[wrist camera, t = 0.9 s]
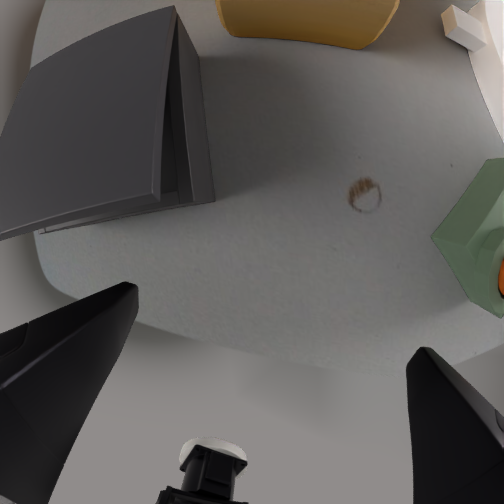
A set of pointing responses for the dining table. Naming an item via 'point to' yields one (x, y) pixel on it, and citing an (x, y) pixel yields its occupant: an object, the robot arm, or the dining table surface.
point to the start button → (501, 278)
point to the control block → (477, 237)
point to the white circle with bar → (482, 49)
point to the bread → (309, 20)
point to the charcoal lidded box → (175, 140)
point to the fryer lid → (88, 128)
